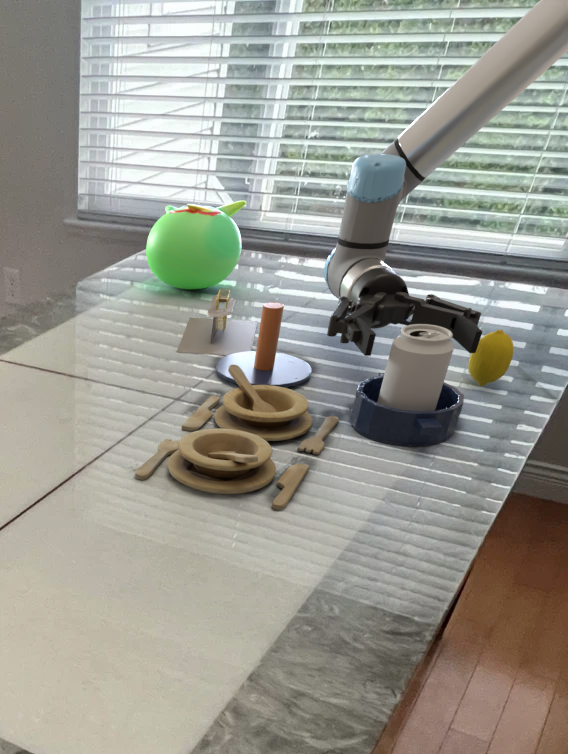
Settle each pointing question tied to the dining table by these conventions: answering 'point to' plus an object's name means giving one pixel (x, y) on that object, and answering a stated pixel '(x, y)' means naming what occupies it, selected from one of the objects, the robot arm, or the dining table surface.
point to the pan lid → (267, 356)
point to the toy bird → (194, 245)
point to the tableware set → (241, 441)
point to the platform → (218, 331)
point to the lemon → (491, 357)
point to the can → (416, 368)
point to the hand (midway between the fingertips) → (423, 343)
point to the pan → (404, 417)
